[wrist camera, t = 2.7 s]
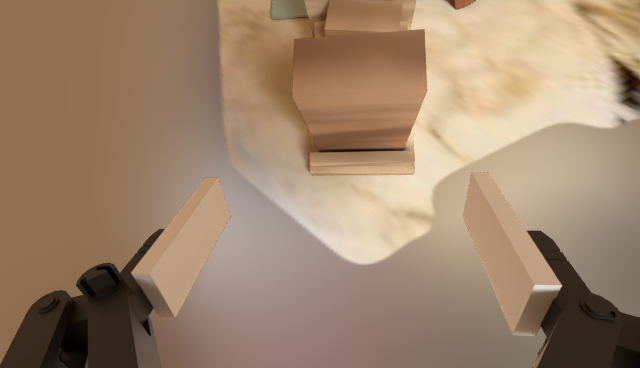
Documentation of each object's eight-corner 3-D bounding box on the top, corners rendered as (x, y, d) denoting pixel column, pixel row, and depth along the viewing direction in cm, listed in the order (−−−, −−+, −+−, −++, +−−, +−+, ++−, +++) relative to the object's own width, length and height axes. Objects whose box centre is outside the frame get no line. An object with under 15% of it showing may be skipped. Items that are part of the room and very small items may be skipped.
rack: (412, 174, 30) (432, 145, 21) (311, 175, 32) (290, 148, 23) (407, 29, 33) (423, -51, 24) (316, 36, 35) (298, -37, 26)
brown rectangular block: (403, 151, 29) (427, 90, 18) (320, 153, 31) (291, 97, 19) (402, 112, 30) (424, 29, 19) (321, 115, 31) (294, 39, 20)
